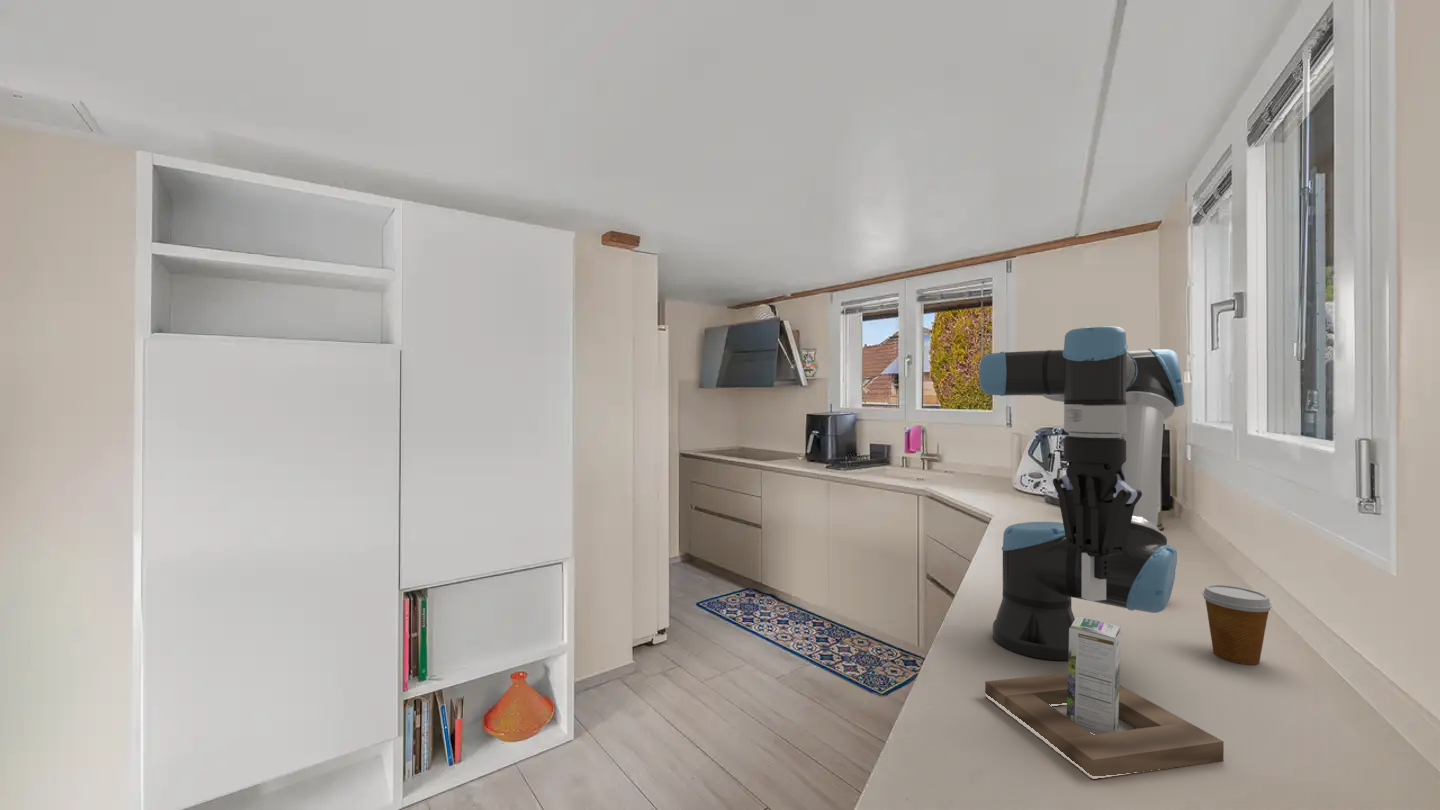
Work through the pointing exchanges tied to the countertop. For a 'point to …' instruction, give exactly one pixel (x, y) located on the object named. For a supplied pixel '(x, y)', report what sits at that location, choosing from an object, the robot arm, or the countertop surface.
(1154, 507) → the robot arm
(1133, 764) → the wooden square frame
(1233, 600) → the disposable coffee cup
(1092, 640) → the syrup box
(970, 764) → the countertop surface
